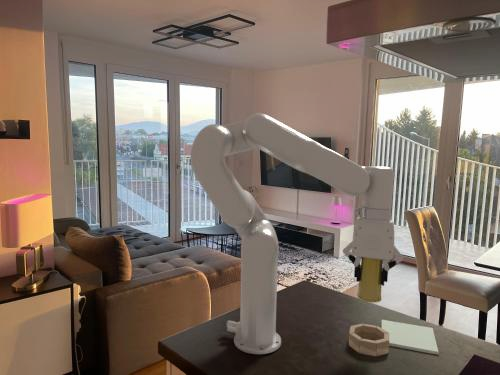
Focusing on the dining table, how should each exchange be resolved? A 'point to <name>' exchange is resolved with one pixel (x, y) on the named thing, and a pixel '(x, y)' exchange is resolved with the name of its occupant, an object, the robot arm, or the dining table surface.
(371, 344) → the ring
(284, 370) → the dining table surface
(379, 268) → the vase
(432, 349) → the mat
